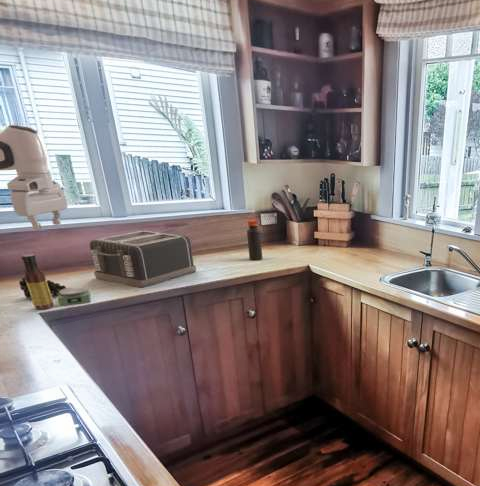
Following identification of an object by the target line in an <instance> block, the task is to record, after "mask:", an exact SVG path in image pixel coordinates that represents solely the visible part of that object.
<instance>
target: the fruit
mask: <svg viewBox="0 0 480 486" xmlns="http://www.w3.org/2000/svg"><path fill="white" fill-rule="evenodd" d="M46 280H47V283H48V286H49V289H50V292H51V295H52V296H58V295H59V291H60V290H62V289H65V288H67V287H66V286H65V285H61V284H60V283H58V282H54V281H52V280H50V279H46ZM18 283H19V288H20V290H21V291H23V293H24V296H25V298H27V299H30V298H31V295H30V292H29V290H28V287H27V284H26V281H25V276H24V277H22V278H21V280H19V281H18Z"/></svg>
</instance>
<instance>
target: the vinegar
mask: <svg viewBox="0 0 480 486" xmlns="http://www.w3.org/2000/svg"><path fill="white" fill-rule="evenodd" d="M258 225H259V223H258V220H257V219H251V220H247V226H248V228H247V230H246V236H247V245H248V257H249V260H250V261H261V260H263V249H262V236H261V230H260V229H259V228H258Z"/></svg>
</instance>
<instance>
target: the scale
mask: <svg viewBox="0 0 480 486" xmlns="http://www.w3.org/2000/svg"><path fill="white" fill-rule="evenodd" d="M86 288H87V290H88V291H87V292H85V293H83V294H79V295H72V296H64V295H60V293H59V294H58V297H57V299H58V303H59V306H60V305H61V306H68V305H69V304H70V305H78V304H87V303H88V304H89V303H91V299H92V298H91V297H92V294H91V290H90V287H86ZM70 305H69V306H70Z"/></svg>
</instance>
